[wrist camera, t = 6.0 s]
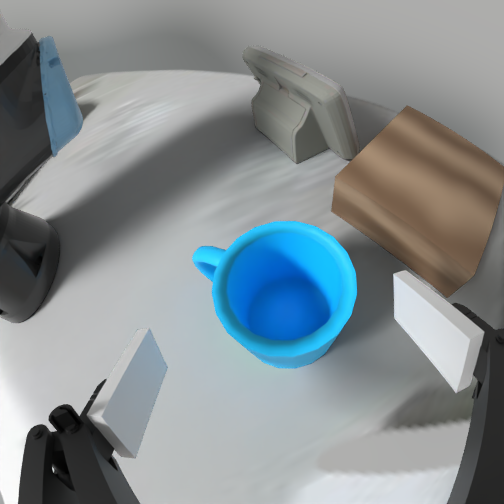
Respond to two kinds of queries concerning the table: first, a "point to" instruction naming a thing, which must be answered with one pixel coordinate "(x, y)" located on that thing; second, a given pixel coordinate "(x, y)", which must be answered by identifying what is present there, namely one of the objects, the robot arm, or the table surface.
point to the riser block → (423, 198)
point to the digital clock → (300, 107)
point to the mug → (281, 291)
